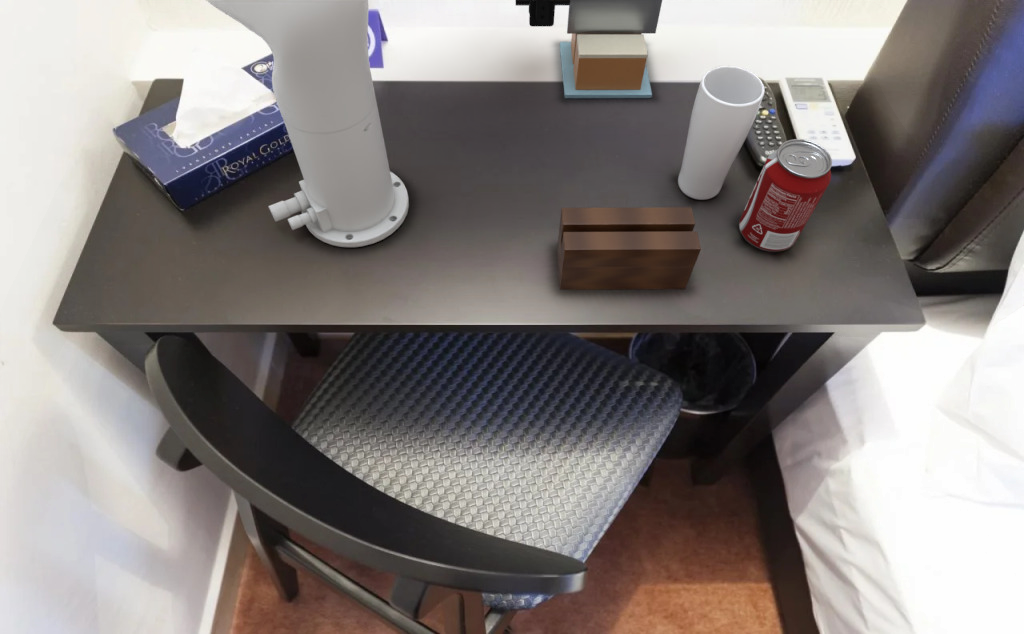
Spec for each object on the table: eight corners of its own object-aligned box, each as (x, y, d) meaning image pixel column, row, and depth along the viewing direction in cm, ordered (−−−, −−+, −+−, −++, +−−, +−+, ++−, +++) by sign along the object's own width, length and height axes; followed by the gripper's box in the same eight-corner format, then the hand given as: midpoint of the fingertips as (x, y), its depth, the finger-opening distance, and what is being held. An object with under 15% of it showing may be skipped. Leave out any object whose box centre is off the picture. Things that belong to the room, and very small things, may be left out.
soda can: (796, 260, 76) (840, 185, 66) (736, 250, 77) (771, 175, 67) (794, 216, 80) (836, 139, 70) (737, 207, 81) (770, 130, 71)
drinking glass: (668, 200, 81) (698, 100, 69) (673, 162, 85) (703, 60, 72) (724, 211, 80) (764, 110, 68) (727, 172, 84) (767, 70, 71)
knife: (654, 28, 90) (663, -14, 85) (656, 36, 90) (665, -6, 84) (515, 29, 90) (515, -14, 85) (515, 37, 89) (515, -6, 84)
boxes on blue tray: (564, 98, 91) (568, 59, 86) (559, 45, 98) (563, 5, 93) (651, 98, 92) (660, 59, 86) (640, 45, 98) (648, 5, 93)
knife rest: (559, 289, 74) (564, 249, 68) (557, 249, 77) (561, 207, 71) (685, 289, 74) (701, 249, 68) (677, 248, 77) (691, 206, 71)
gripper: (513, -168, 77) (511, -15, 92) (515, -100, 68) (513, 56, 84) (577, -168, 77) (565, -15, 93) (588, -100, 68) (573, 56, 84)
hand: (541, 18), depth 88 cm, fingers closed on knife, 1 cm apart
